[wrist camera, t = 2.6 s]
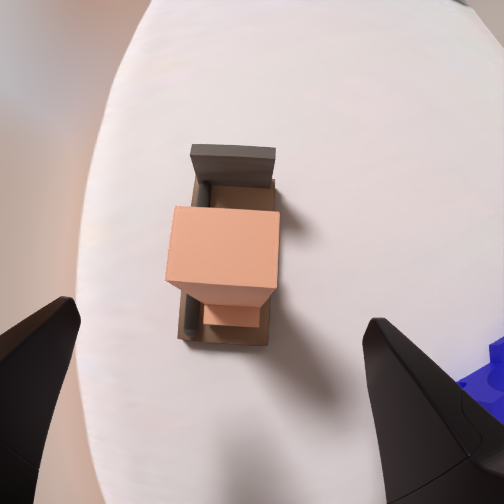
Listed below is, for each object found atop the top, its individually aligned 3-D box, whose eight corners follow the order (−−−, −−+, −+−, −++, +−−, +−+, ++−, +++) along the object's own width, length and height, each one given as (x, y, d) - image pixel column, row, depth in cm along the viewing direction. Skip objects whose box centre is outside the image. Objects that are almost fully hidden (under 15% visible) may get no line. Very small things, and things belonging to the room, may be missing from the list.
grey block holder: (266, 344, 17) (273, 350, 12) (181, 338, 17) (160, 341, 12) (273, 186, 19) (281, 148, 15) (197, 182, 19) (186, 143, 15)
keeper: (257, 327, 16) (274, 328, 7) (206, 323, 16) (161, 319, 7) (262, 255, 17) (280, 178, 8) (212, 252, 17) (180, 173, 8)
